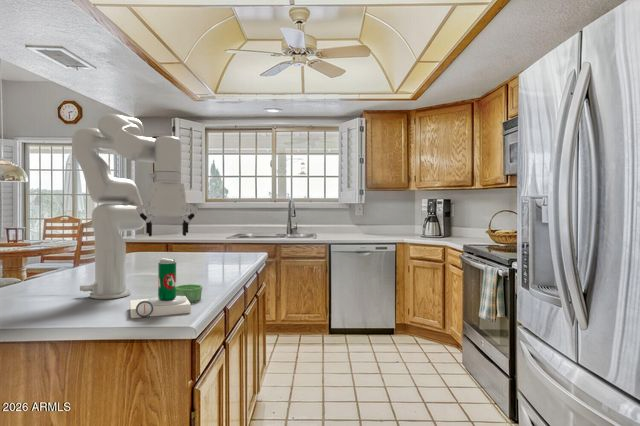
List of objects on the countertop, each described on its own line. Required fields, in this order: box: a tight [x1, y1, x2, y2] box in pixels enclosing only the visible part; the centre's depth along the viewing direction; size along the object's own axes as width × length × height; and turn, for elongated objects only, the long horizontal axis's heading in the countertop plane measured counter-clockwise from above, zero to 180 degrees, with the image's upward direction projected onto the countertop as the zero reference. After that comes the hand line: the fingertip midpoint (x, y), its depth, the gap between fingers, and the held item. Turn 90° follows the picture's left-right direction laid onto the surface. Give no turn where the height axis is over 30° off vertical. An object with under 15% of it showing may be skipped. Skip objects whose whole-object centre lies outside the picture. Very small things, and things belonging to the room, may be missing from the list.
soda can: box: [157, 258, 177, 301], centre depth 125 cm, size 5×5×12 cm
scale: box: [129, 296, 192, 319], centre depth 124 cm, size 16×13×4 cm
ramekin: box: [176, 283, 203, 303], centre depth 139 cm, size 9×9×4 cm
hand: (167, 235), depth 125 cm, fingers open, 9 cm apart
